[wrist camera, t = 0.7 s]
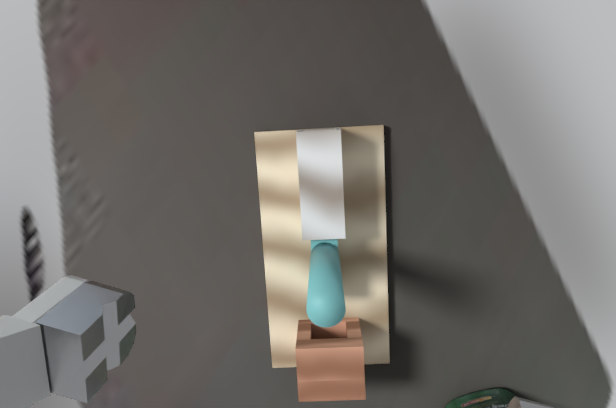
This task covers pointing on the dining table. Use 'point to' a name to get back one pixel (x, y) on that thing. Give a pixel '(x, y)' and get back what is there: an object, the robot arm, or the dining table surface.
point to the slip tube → (325, 284)
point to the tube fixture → (319, 226)
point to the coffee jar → (483, 399)
